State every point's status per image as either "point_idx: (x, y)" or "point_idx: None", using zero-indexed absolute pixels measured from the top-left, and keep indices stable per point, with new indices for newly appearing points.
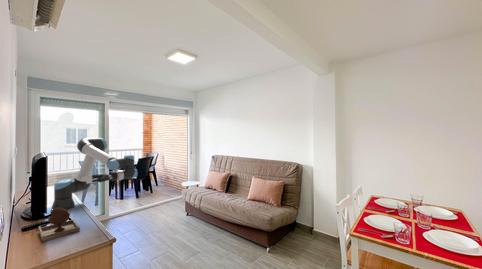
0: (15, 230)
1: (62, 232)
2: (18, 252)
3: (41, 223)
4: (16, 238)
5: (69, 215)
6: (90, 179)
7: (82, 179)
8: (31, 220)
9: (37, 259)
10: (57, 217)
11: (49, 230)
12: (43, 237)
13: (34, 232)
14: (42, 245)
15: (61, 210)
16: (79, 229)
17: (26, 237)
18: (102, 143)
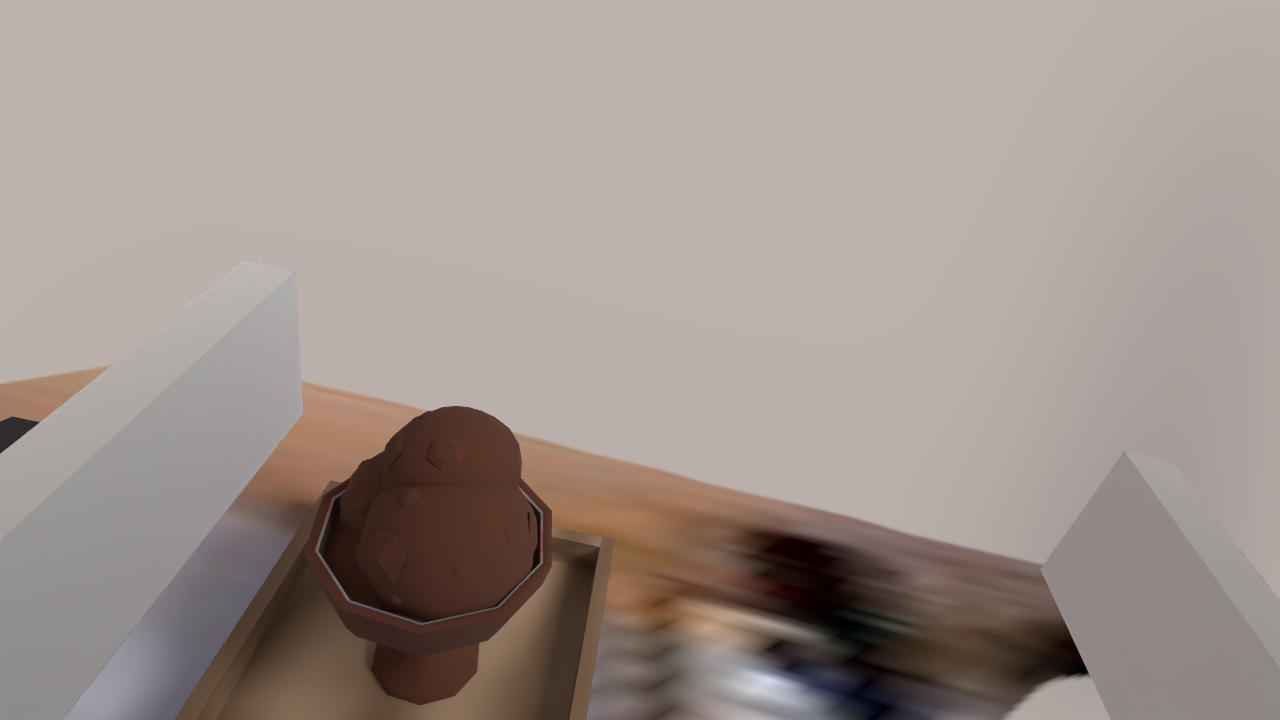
0: (824, 514)
1: (253, 606)
2: (324, 409)
3: (877, 664)
4: (622, 471)
5: (335, 604)
6: (151, 347)
7: (1076, 557)
8: (1044, 646)
9: (41, 411)
10: (352, 475)
11: (531, 607)
12: (326, 490)
13: (646, 558)
14: (257, 496)
15: (398, 474)
16: None
17: (577, 501)
18: None
